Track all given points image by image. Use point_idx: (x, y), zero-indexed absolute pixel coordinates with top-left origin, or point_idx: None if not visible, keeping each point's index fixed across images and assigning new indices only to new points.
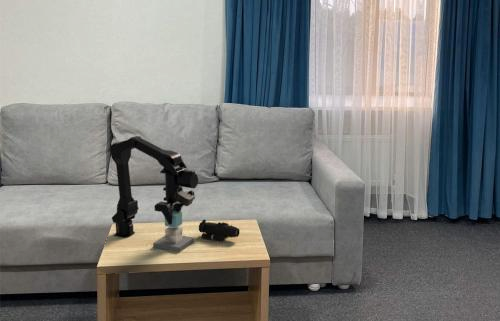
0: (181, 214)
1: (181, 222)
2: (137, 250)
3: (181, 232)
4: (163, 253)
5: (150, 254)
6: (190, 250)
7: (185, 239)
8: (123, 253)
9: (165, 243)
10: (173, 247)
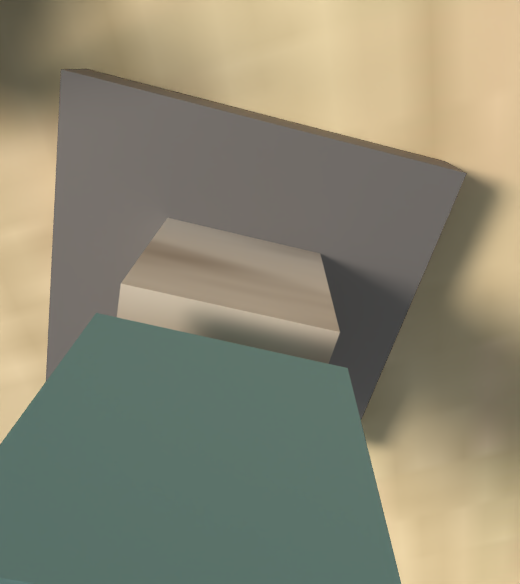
0: (10, 495)
1: (116, 341)
2: (405, 512)
3: (166, 257)
4: (472, 317)
5: (494, 411)
6: (372, 41)
7: (171, 174)
8: (468, 570)
9: (343, 360)
10: (425, 253)
